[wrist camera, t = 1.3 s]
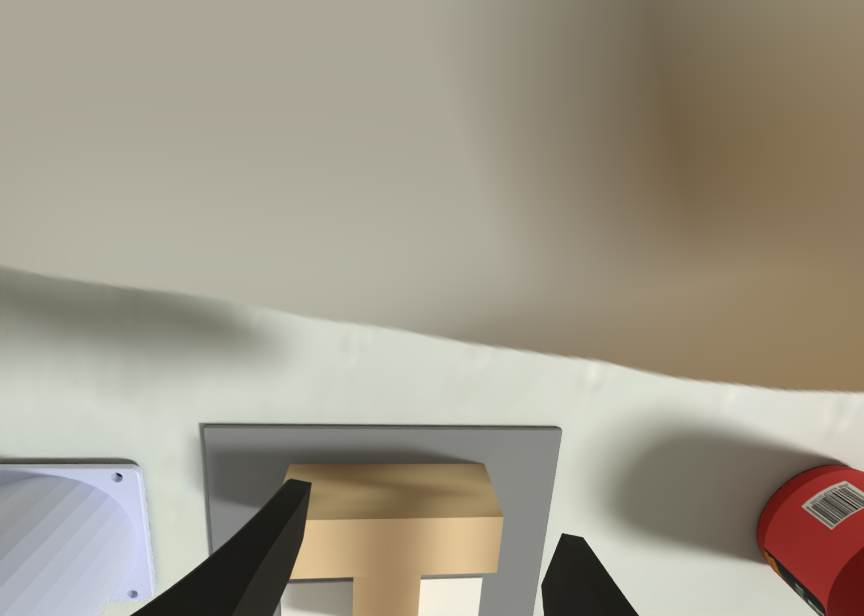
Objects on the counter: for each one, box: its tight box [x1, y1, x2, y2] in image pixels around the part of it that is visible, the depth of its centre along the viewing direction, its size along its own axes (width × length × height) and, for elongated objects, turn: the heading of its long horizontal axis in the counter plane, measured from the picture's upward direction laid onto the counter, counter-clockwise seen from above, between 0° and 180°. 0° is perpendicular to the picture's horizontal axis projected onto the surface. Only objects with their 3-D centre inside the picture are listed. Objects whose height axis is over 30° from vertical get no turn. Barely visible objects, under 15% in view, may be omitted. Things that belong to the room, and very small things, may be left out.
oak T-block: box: [283, 464, 504, 616], centre depth 22 cm, size 10×10×4 cm
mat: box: [204, 425, 562, 616], centre depth 25 cm, size 18×22×1 cm
